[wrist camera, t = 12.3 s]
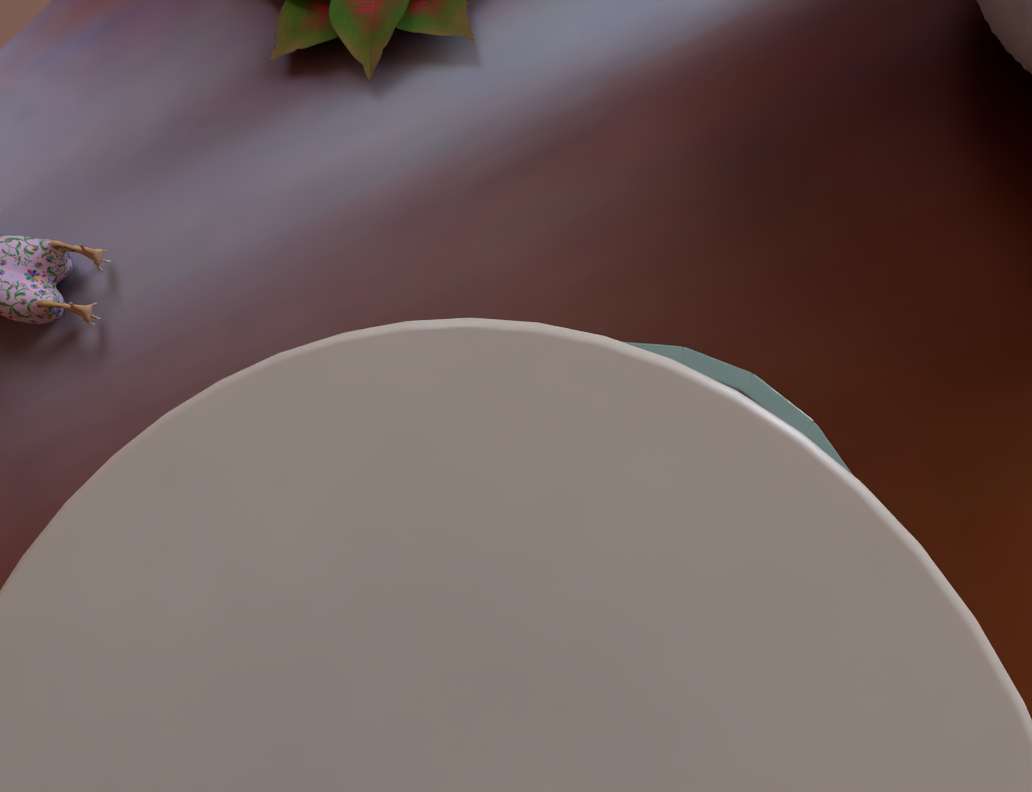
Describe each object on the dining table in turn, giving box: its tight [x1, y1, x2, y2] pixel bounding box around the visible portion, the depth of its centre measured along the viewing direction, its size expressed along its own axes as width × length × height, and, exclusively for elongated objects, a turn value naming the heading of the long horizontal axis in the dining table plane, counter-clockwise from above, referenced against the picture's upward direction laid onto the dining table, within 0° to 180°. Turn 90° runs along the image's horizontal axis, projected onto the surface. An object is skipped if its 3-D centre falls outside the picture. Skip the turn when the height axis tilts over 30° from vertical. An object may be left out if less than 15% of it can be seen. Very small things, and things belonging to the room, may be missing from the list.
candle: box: [0, 318, 1032, 792], centre depth 8 cm, size 5×5×14 cm
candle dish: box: [623, 342, 852, 474], centre depth 20 cm, size 14×14×3 cm
